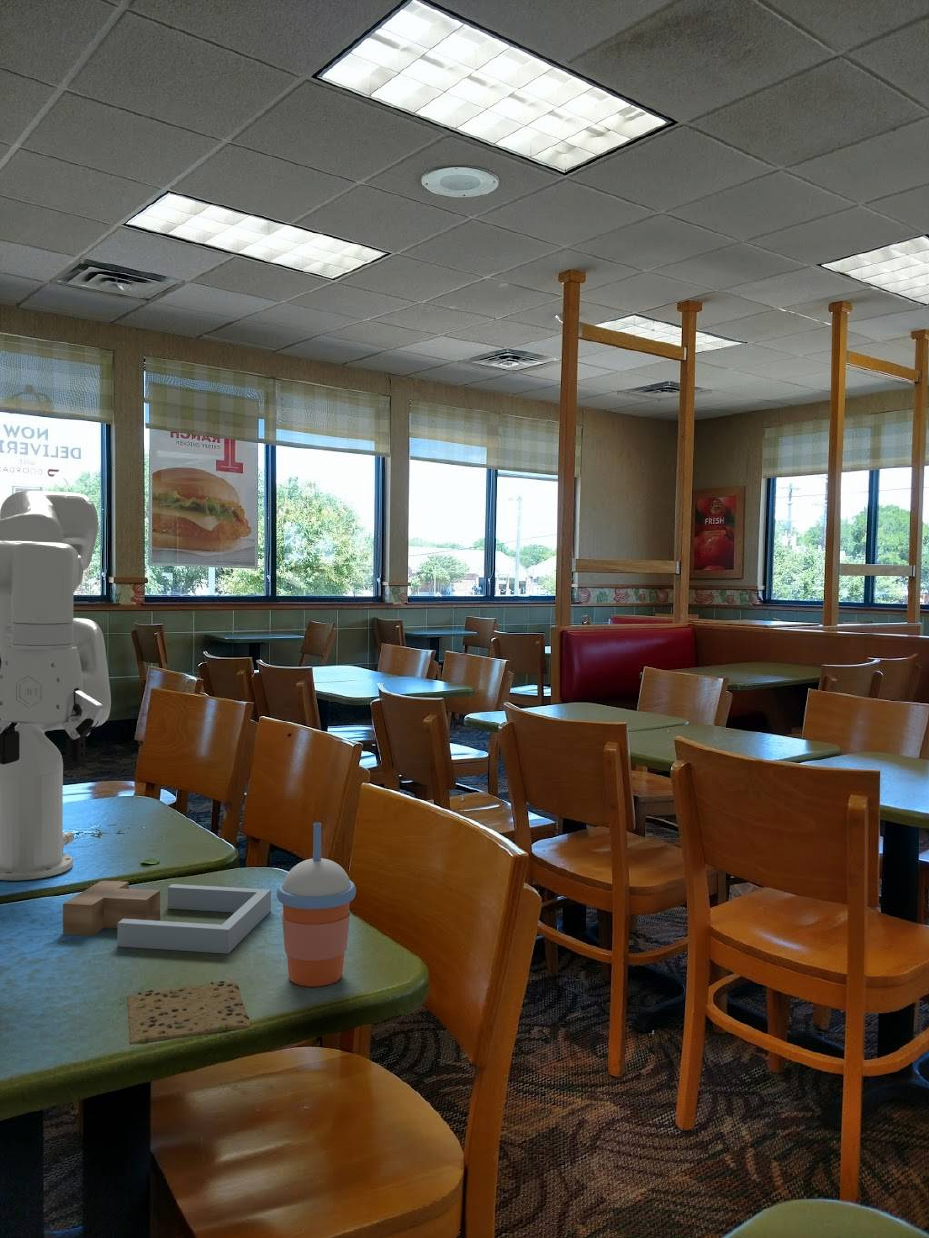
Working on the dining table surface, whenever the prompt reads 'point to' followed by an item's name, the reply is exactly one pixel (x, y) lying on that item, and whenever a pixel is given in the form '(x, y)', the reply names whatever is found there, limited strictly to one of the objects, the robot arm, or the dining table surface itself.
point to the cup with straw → (316, 918)
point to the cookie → (185, 1012)
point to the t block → (108, 907)
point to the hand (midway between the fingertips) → (42, 764)
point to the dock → (197, 935)
